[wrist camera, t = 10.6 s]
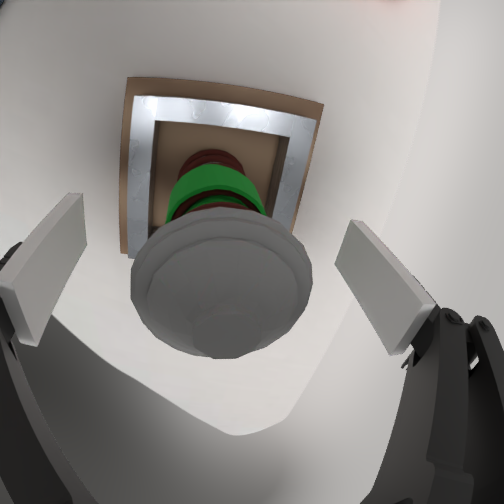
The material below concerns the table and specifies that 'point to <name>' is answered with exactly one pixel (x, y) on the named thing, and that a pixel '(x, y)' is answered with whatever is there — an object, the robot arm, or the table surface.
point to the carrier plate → (207, 139)
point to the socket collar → (220, 114)
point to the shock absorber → (219, 266)
